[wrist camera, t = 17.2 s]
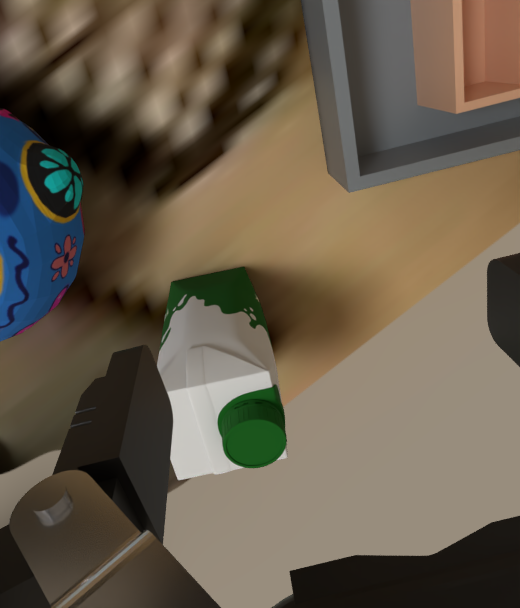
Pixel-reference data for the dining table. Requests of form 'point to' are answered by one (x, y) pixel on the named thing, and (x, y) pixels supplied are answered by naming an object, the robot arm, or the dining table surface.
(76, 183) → the ceramic pot
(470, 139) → the big crate
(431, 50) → the small crate
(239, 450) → the milk carton
